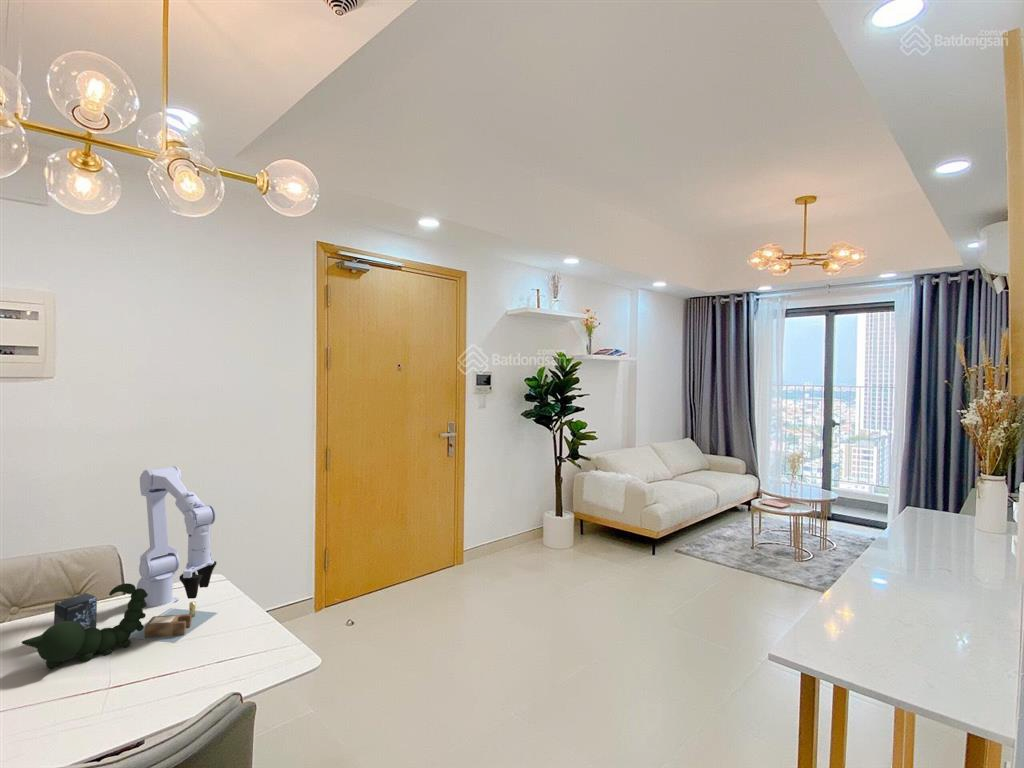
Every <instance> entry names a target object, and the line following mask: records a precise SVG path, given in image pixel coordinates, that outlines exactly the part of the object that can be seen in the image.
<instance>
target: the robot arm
mask: <svg viewBox="0 0 1024 768" xmlns="http://www.w3.org/2000/svg"><path fill="white" fill-rule="evenodd" d="M139 487H140V488H139V489H140V495H141V496H144V497H145V498H146V510H147V511H146V513H147V523H148V524H147V525H148V539H149V540H148V541H149V548H148V549H146V551H144V552H143V553H141V555H140V556H139V557H140V558H139V565H138V571H139V576H140V577H141V578H140V579H139V580H138V582H137V584H136V587H135V588H136V589H139V588H141V589H144V590H145V591H146V593H147V594H148V596H147V597H146V598H144V599H145V602H146V603H147V605H146V607H151V608H152V607H153V608H154V607H162V606H165V605H167V604H171V603H175V602H178V601H179V600H180V598H179V597H173V593H174V592H173V589H174V588H173V587H174V585H173V584H174V583H173V580H174V575H175V576H176V572H177V571H179V568H180V565H181V560H180V556H179V553H178V549H177V548H176V547H174V546H172V545H170V544H169V537H168V533H169V532H168V523H167V521H168V520H167V511H166V496H167V494H168V493H169V494H170V495H171V496H173V497H174V498H175V506H176V507H177V508H178V510H179V511H180V512H181V514H182V515H183V516H184V517H183V521H184V524H185V528H186V529H185V532H186V534H187V536H188V537H187V563H186V566H185V568H184V570H183V573H182V574H180V576H179V581H180V582H181V583H182V584H183V587H184V591H185V594H186V596H187V599H196V598H197V596H198V591H199V588H208V587H209V584H210V582H211V581H210V580H211V577H212V574H213V571H214V569H215V567H216V565H217V561H215V560H214V553H212V552H211V530H212V527H211V526H212V525H213V524H214V523H215V520H216V511H215V509H214V507H213V505H212V504H204V502H202V500H201V499H200V498H199V497H198V496H197V495H196V493H195V492H193V491H188V490H187V488H186V486H185V485H184V483H183V481H182V471H181V469H180V468H179V467H178V466H176V465H174V466H169V467H162V468H155V469H153V468H152V469H145V470H143V471H142V473H141V474H140V476H139Z"/></svg>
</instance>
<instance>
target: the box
mask: <svg viewBox="0 0 1024 768" xmlns="http://www.w3.org/2000/svg"><path fill="white" fill-rule="evenodd" d="M97 603H98V597H97V596H95V595H92V594H90V593H88V592H85V593H82V594H79V595H76V596H73V597H71V598H67V599H64V600H61V601H58V602H57V601H56V602H55V603H54V609H53V610H54V612H53V613H54V615H53V617H54V618H53V625H55V624H57V623H60V622H63V621H74V622H77V623H79V624H81V625H82V626H83V627H84V628H85V629H87V628H97V614H98V613H97V609H98V608H97V607H98V605H97Z"/></svg>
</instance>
